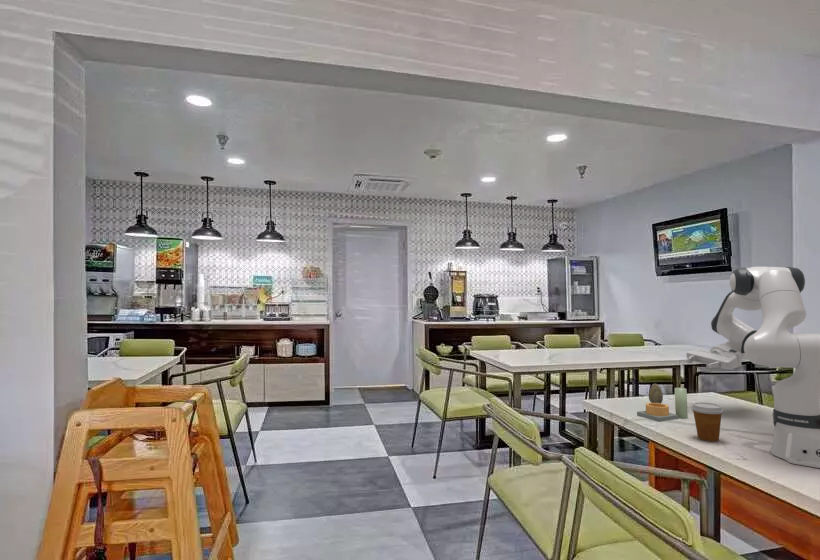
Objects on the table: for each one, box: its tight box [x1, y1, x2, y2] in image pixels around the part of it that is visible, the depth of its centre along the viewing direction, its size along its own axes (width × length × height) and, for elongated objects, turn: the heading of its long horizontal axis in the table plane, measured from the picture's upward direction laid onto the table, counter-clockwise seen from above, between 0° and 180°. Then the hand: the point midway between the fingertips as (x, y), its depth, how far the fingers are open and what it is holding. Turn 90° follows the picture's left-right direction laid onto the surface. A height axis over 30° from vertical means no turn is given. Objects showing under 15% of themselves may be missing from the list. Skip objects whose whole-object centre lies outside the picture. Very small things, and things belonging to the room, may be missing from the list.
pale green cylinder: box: [674, 387, 689, 419], centre depth 190 cm, size 4×4×12 cm
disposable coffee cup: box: [691, 402, 724, 442], centre depth 160 cm, size 10×10×12 cm
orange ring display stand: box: [636, 402, 680, 422], centre depth 190 cm, size 11×11×5 cm
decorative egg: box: [648, 383, 664, 404], centre depth 211 cm, size 6×6×10 cm
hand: (697, 363), depth 193 cm, fingers open, 8 cm apart
